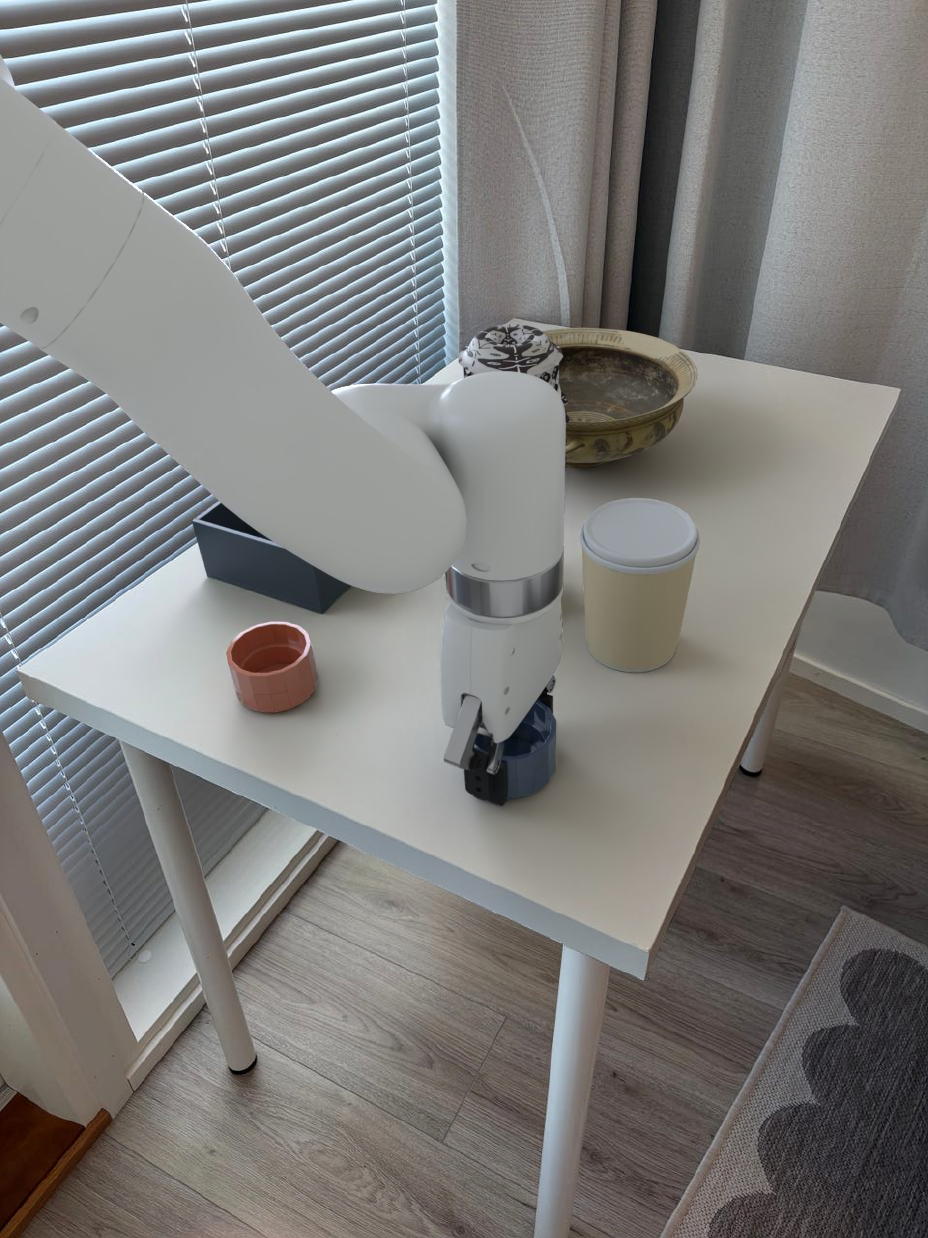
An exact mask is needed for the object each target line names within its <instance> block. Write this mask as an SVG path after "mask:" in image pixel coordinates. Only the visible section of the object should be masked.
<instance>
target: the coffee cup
mask: <svg viewBox="0 0 928 1238" xmlns="http://www.w3.org/2000/svg"><path fill="white" fill-rule="evenodd" d="M579 542H580V546H581V564H582V565H581V567H582V585H583V586H582V587H583V603H584V605H583V606H584V607H583V608H584V625H585V626H584V627H585V636H586V637H585V638H586V645H587V646H586V647H587V649H588V652H589V653H590V654H591V655H592V657H593V658H594V659H595V660H596V661H597V662H598V663H600V664H601V665H603V666H604V667H607V668H609V669H612V670H614V671H615V670H616V671H619V672H625V673H646V672H650V671H654V670H657V669H659V668H662V667H663V666H665V665H666V664H667V663H669V662H670V661H671V659H672V658H673V656H674V655H675V654H676V651H677V647H678V644H679V640H680V635H681V629H682V626H683V621H684V616H685V612H686V606H687V602H688V597H689V591H690V587H691V582H692V577H693V573H694V572H693V571H694V569H695V562H696V556H697V553H698V551H699V548H700V543H701V535H700V531H699V529H698V527H697V524H696V522H695V519H693V518H692V517H691V516H690V514H689V513H688V512H686V511H685V510H683V508H681V507H678V506H676V505H674V504H672V503H669V502H667V501H662V500H659V499H653V498H646V497H628V498H627V497H626V498H621V499H616V500H612V501H609V502H606V503H604V504H601V505H600V506H598V507H596V508H595V509H593V510H592V511H591V512H590V513H589V515H587V517H586V519H585V520H584V523H582V525H581V528H580V532H579Z"/></svg>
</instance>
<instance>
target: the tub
mask: <svg viewBox="0 0 928 1238" xmlns="http://www.w3.org/2000/svg"><path fill="white" fill-rule="evenodd" d="M191 525H192V527H193V531H194V535H195V538H196V542H197V545H198V550H199V553H200V556H201V559H202V564H203V567H204V571H205V574H206V576H207V577H208V578H211V579H214V580H217V581H220V582H223V583H226V584H229V585H232V586H235V587H238V588H242V589H244V590H247V591H251V592H253V593H257V594H260V595H262V596H266V597H269V598H272V599H275V600H277V601H281V602H284V603H287V604H290V605H293V606H296V607H300V608H302V609H304V610H305V609H306V610H309V611H312V612H314V613H318V614H319V615H323V614H324V613H326V612H327V611H328V609H330V607H332V606H333V605H334V604H335V603H336V602H337V601H338V600H339V599H340V598H341V597H342V596H343V595H344V594H345V593H346V592H348V590H349V589H350V588H352V586H351V585H349V584H346V583H344V582H342V581H340V580H338V579H336V578H334V577H332V576H330V575H328V574H327V573H325V572H323V571H322V570H320V569H318V568H316V567H315V566H313V565H311V564H310V563H308V562H306V561H305V560H303V559H301V558H300V557H298V556H296V555H295V554H293V553H291V552H290V551H288V550H287V549H285V548H283V547H282V546H280V545H278V544H277V543H275V542H273V541H272V540H270V539H269V538H267V537H266V536H264V535H263V534H261V533H260V532H258V531H257V530H255V529H254V528H253V527H251V526H250V525H249V524H247V523H246V522H245V521H243V520H242V519H240V518H239V517H238V516H237V515H236V514H234V513H233V512H232V511H231V510H229V509H228V508H227V507H226V506H224V505H223V504H222V503H221V502H220V501H219V500H218V501H216V502H215V503H214V504H212V505H211V506H210V507H208V508H207V509H206V510H205V511H203V512H201V513H200V514H198V516H196V517H195V518H193V520H191Z"/></svg>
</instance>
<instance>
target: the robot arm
mask: <svg viewBox="0 0 928 1238" xmlns="http://www.w3.org/2000/svg"><path fill="white" fill-rule="evenodd" d="M0 324H1V325H3V326H4V327H6V328H7V329H9V330H10V331H12V332H14V333H15V334H17V335H18V336H20V337H22V338H23V339H24V340H26V341H28V342H29V343H31V344H32V345H34V346H36V347H37V348H38V349H39V350H40V351H42V352H43V353H45V354H46V355H48V356H49V357H51V358H53V359H54V360H56V361H57V362H59V363H60V364H62V365H64V366H65V367H67V368H69V369H70V370H71V371H73V372H75V374H78V375H79V376H81V377H82V378H84V379H85V380H87V381H88V382H90V383H91V384H92V385H93V386H95V387H96V388H98V389H99V390H100V391H102V392H103V393H104V394H105V395H107V396H108V397H109V398H110V399H111V400H112V401H113V402H114V403H115V404H116V405H117V406H118V407H119V408H120V409H121V410H122V411H123V412H124V413H125V414H126V415H127V417H128V418H129V419H130V420H131V421H132V423H134V424H135V425H136V426H137V427H138V428H139V429H140V430H141V431H142V432H143V433H144V434H145V435H146V436H147V437H148V438H149V439H150V440H152V441H153V442H154V443H155V444H156V445H157V446H158V447H160V449H162V450H163V451H164V452H165V453H166V454H167V455H168V456H169V457H171V458H172V459H173V460H174V461H175V462H176V463H177V464H178V465H180V467H182V469H184V470H185V471H186V472H187V473H188V474H189V475H190V476H191V477H192V478H193V479H194V480H195V481H196V482H197V483H199V484H200V485H201V487H203V488H204V489H205V490H206V491H207V492H208V493H210V495H212V496H213V497H214V498H215V499H216V500H218V501H220V502H221V503H222V504H223V505H224V506H226V507H227V508H228V509H229V510H231V511H232V512H233V513H234V514H236V515H237V516H238V517H239V518H240V519H242V520H243V521H245V522H246V523H247V524H249V525H250V526H251V527H253V528H254V529H255V530H257V531H258V532H260V533H261V534H263V535H264V536H266V537H267V538H269V539H270V540H272V541H273V542H275V543H277V544H278V545H280V546H282V547H283V548H285V549H287V550H288V551H290V552H291V553H293V554H295V555H296V556H298V557H300V558H301V559H303V560H305V561H306V562H308V563H310V564H311V565H313V566H315V567H316V568H318V569H320V570H322V571H323V572H325V573H327V574H328V575H330V576H332V577H334V578H336V579H338V580H340V581H342V582H344V583H346V584H349V585H351V587H354V588H357V589H360V590H364V591H366V592H371V593H378V594H384V595H386V594H388V595H394V594H395V595H396V594H397V595H398V594H404V593H405V594H406V593H411V592H414V591H417V590H420V589H422V588H425V587H427V586H429V585H431V584H433V583H434V582H436V581H437V580H439V579H440V578H441V577H442V576H443V575H444V577H445V589H446V597H447V600H448V602H449V604H448V605H447V606H446V609H445V612H444V618H443V624H442V633H441V643H440V644H441V645H440V699H441V714H442V720H443V723H444V725H445V726H447V727H450V728H451V729H453V730H452V733H451V734H450V738H449V741H448V744H447V746H446V750H445V752H444V756H443V763H445V764H448V765H450V766H453V767H455V768H458V769H461V770H463V777H464V779H463V780H464V790H465V791H466V792H467V793H468V794H469V795H471V796H472V797H474V798H475V799H478V800H480V801H484V802H489V803H491V804H495V805H497V806H499V807H505V804H506V803H507V801H508V797H507V770H506V765H505V763H503V762H501V759H502V754H503V749H504V744H505V740H506V739H507V738H509V737H510V736H511V735H512V733H513V732H514V731H515V729H516V728H517V727H518V725H519V724H520V723H521V721H522V720H523V718H524V717H525V716H526V714H527V713H528V711H529V710H530V708H531V707H532V706H533V704H534V703H535V701H536V700H537V699H538V700H539V701H541V702H542V703H543V704H545V705H546V706H547V707H549V708H550V710H551V712H552V713H553V714H554V695H553V694H552V693H553V691H554V690H555V687H556V682H557V680H556V679H557V678H556V677H555V675H554V674H555V673H556V671H557V669H558V667H559V664H560V661H561V657H562V647H563V627H564V622H563V610H562V608H563V607H562V596H563V594H564V575H565V574H564V569H565V568H564V567H565V545H564V544H565V502H566V501H565V499H566V498H565V497H566V495H565V494H566V493H565V491H566V465H565V441H566V419H565V408H564V404H563V402H562V400H561V397H560V395H559V394H558V392H557V391H556V390H555V389H554V388H553V387H552V386H551V385H550V384H548V383H547V382H545V381H544V380H542V379H540V378H538V377H536V376H533V375H529V374H525V373H520V372H511V371H495V372H485V373H480V374H475V375H472V376H468V377H466V378H464V377H463V378H461V379H459V380H456V381H455V382H451V383H428V384H427V383H423V384H422V383H418V384H415V383H412V384H411V383H362V384H361V383H360V384H353V385H346V386H342V387H337V388H335V389H332V390H331V389H330V388H329V387H328V386H326V384H324V383H323V382H322V381H321V380H320V379H319V378H318V377H317V376H316V375H315V374H314V373H313V372H312V371H311V370H310V369H309V368H308V367H307V366H306V364H304V362H303V361H301V360H300V358H299V357H298V356H297V355H296V354H295V353H294V352H293V350H292V349H291V348H290V347H289V346H288V345H287V344H286V343H285V342H284V340H283V339H282V338H281V336H279V334H278V333H277V332H276V330H275V329H274V327H273V326H272V324H270V323H269V321H268V320H267V318H266V317H265V316H264V314H263V313H262V312H261V310H260V309H259V308H258V306H257V305H256V303H255V302H254V300H253V299H252V297H251V295H249V292H247V290H246V289H245V287H244V286H243V285H242V283H241V281H239V279H238V277H236V275H235V274H234V272H233V271H232V270H231V268H230V267H229V266H228V265H227V263H225V261H223V259H222V258H221V257H220V256H219V255H218V254H217V252H216V251H214V250H213V248H212V247H211V246H210V245H209V244H208V243H207V242H206V240H204V239H203V238H202V237H201V236H200V235H199V234H197V233H196V232H195V231H194V230H192V229H191V228H190V227H189V226H188V225H186V224H185V223H184V222H182V221H181V220H180V219H179V218H177V217H176V216H174V215H173V214H172V213H171V212H169V211H168V210H167V209H165V208H164V207H163V206H162V205H161V204H159V203H158V202H157V201H156V200H154V199H153V198H152V197H150V196H149V195H148V194H147V193H146V192H144V191H143V190H142V189H140V188H139V187H138V186H137V185H135V184H134V183H133V182H131V180H129V179H128V178H126V177H125V176H124V175H123V174H122V173H120V172H119V171H118V170H116V169H115V168H114V167H112V166H111V165H110V164H109V163H108V162H106V161H105V160H104V159H103V158H101V156H99V155H98V154H96V152H94V151H92V150H91V149H90V148H89V147H88V146H87V145H85V144H84V143H83V142H81V140H79V139H77V138H76V137H75V136H74V135H72V134H71V133H70V132H68V131H67V130H66V129H65V128H64V127H62V126H61V125H59V124H58V123H57V121H56V120H55V119H53V118H52V117H51V116H50V115H48V114H47V113H46V112H45V111H44V110H42V109H41V108H40V107H38V106H37V105H36V104H34V103H33V102H32V101H31V100H29V98H27V97H26V96H24V95H23V94H22V93H20V92H19V91H18V89H17V87H16V85H15V82H14V79H13V76H12V73H11V71H10V69H9V67H8V66H7V64H6V62H5V60H4V58H3V57H2V54H0ZM482 720H483V721H482ZM477 734H479V735H482V736H485V737H487V738H490V739H492V741H491V747H490V752H489V753H487V752H485V751H482V750H479V749H477V748H474V744H475V738H476V735H477Z"/></svg>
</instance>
